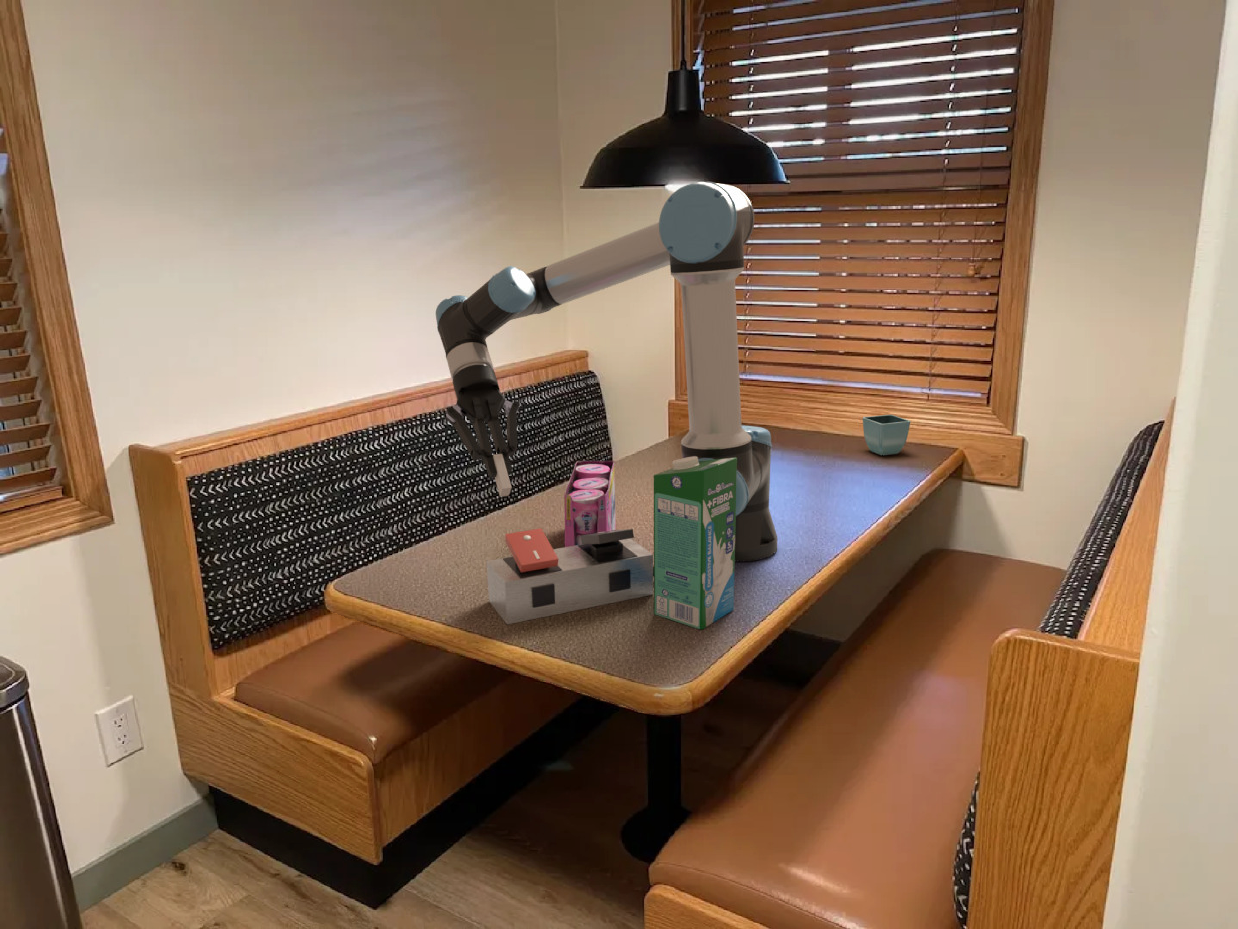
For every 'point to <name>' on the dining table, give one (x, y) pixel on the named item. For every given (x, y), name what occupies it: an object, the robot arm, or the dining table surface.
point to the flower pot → (885, 433)
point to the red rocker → (531, 550)
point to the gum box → (589, 500)
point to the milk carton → (695, 540)
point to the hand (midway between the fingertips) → (505, 492)
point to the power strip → (571, 580)
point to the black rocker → (607, 536)
